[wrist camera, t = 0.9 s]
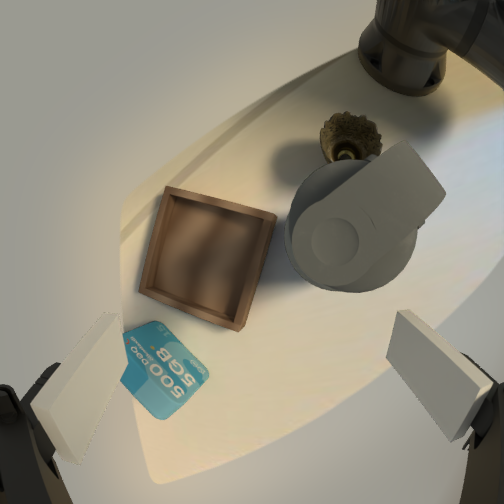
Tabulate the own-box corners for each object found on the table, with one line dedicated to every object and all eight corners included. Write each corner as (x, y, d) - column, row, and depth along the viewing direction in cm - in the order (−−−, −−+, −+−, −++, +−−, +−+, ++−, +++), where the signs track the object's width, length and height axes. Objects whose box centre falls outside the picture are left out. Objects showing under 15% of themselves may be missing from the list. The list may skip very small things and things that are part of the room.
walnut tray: (277, 216, 40) (273, 213, 37) (244, 326, 41) (238, 332, 38) (176, 190, 43) (165, 185, 40) (150, 289, 44) (138, 292, 41)
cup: (314, 177, 39) (313, 159, 31) (324, 130, 39) (325, 104, 31) (365, 191, 37) (377, 177, 30) (374, 143, 37) (386, 120, 29)
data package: (212, 373, 42) (179, 408, 30) (195, 388, 43) (160, 424, 31) (159, 318, 44) (113, 336, 32) (144, 335, 45) (98, 356, 33)
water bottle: (338, 189, 38) (375, 72, 11) (381, 246, 37) (502, 236, 10) (280, 234, 40) (204, 198, 13) (323, 292, 39) (338, 378, 11)
